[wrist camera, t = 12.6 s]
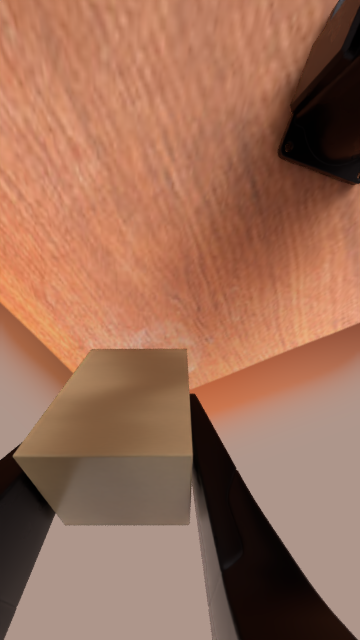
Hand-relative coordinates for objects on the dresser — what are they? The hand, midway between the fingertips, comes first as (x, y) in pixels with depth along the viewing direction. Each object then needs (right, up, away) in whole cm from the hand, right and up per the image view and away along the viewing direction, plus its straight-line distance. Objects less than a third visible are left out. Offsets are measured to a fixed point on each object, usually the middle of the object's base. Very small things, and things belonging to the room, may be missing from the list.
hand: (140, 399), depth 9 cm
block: (0, 0, +1) cm, 1 cm away
